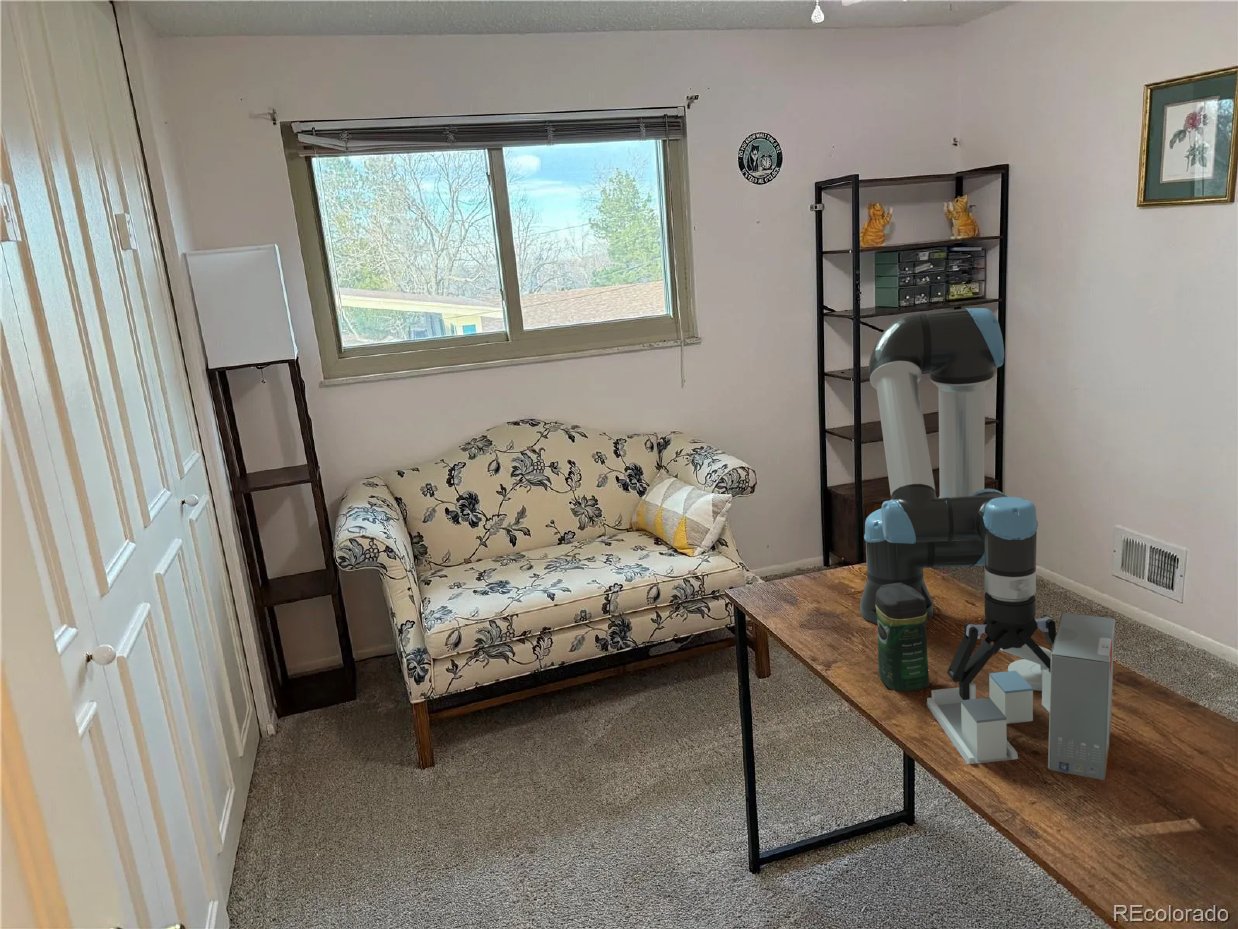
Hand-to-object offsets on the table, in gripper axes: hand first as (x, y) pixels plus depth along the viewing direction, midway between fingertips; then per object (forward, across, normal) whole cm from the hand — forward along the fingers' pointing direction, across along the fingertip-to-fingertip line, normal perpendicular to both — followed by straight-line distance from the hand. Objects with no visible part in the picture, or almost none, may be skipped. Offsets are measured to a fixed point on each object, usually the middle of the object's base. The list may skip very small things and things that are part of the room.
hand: (1009, 712), depth 142 cm
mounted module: (0, -8, -9) cm, 12 cm away
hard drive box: (+1, +6, -11) cm, 13 cm away
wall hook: (+1, +8, +10) cm, 13 cm away
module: (+1, 0, 0) cm, 1 cm away
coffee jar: (+1, -13, +15) cm, 20 cm away
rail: (+1, -8, -3) cm, 9 cm away
